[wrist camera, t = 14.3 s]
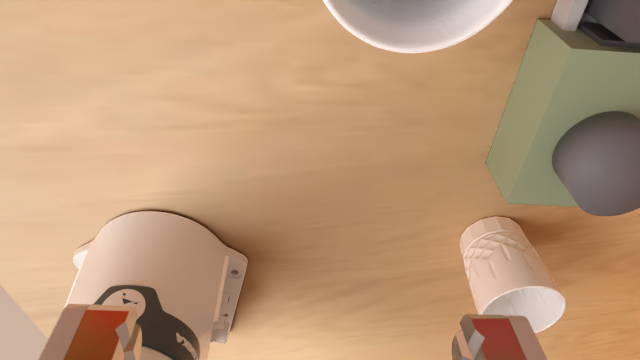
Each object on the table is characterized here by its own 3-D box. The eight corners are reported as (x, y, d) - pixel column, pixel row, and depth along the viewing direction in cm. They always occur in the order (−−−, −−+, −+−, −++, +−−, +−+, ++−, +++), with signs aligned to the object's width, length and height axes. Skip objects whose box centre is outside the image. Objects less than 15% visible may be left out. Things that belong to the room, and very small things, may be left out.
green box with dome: (594, 168, 46) (653, 241, 38) (485, 163, 45) (523, 236, 37) (759, -137, 31) (916, -121, 23) (599, -153, 30) (703, -141, 22)
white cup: (458, 213, 49) (487, 288, 41) (533, 209, 49) (576, 284, 41) (449, 263, 54) (473, 340, 46) (518, 260, 54) (554, 336, 46)
